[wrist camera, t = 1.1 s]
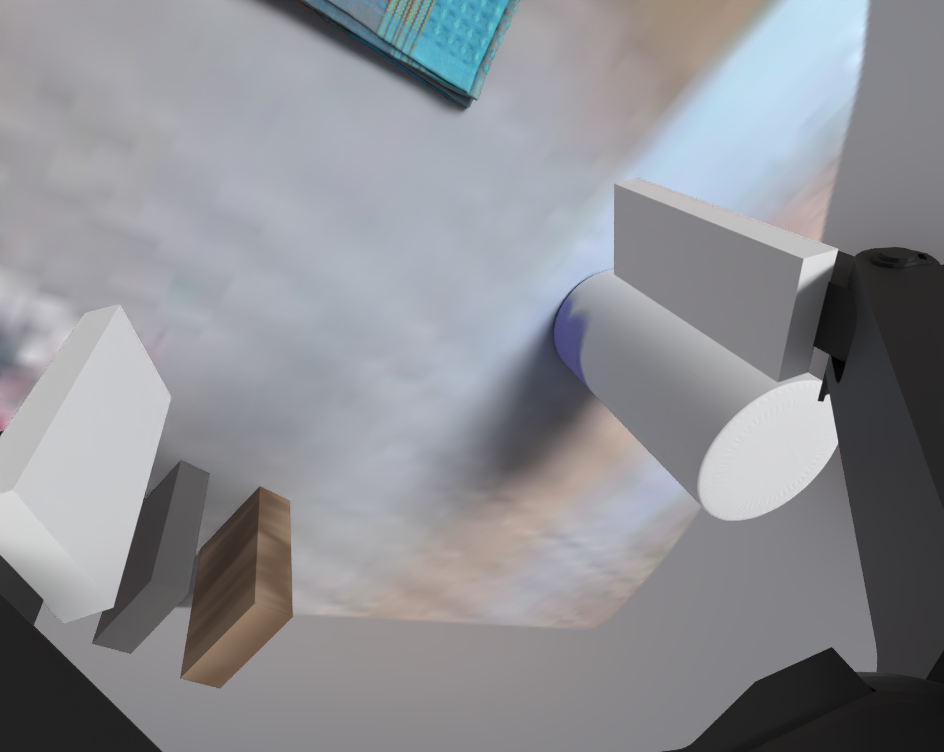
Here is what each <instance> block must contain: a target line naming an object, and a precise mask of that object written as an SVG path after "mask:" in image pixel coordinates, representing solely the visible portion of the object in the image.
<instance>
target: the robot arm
mask: <svg viewBox="0 0 944 752" xmlns="http://www.w3.org/2000/svg"><path fill="white" fill-rule="evenodd" d="M614 275H616V276H617V277H619V278H620V279H622V280H623V281H625V282H626V283H628V284H629V285H631V286H632V287H634V288H635V289H637V290H638V291H640V292H641V293H643V294H644V295H646V296H647V297H649V298H650V299H652V300H653V301H655V302H656V303H658V304H659V305H661V306H663V307H664V308H666V309H667V310H669V311H670V312H672V313H673V314H675V315H676V316H678V317H679V318H681V319H682V320H684V321H685V322H687V323H688V324H690V325H691V326H693V327H694V328H696V329H697V330H699V331H700V332H702V333H703V334H705V335H706V336H708V337H709V338H711V339H712V340H714V341H715V342H717V343H719V344H720V345H722V346H723V347H725V348H726V349H728V350H729V351H731V352H732V353H734V354H735V355H737V356H738V357H740V358H741V359H743V360H744V361H746V362H747V363H749V364H750V365H752V366H753V367H755V368H756V369H758V370H759V371H761V372H762V373H764V374H765V375H767V376H768V377H770V378H771V379H773V380H775V381H776V382H781V381H784V380H787V379H790V378H793V377H796V376H799V375H802V374H805V373H808V371H809V366H810V362H811V358H812V354H813V350H814V346H815V347H817V348H819V349H821V350H822V351H824V352H826V353H828V354H829V359H828V362H827V366H826V370H825V374H824V378H823V381H822V385H821V389H820V393H819V397H818V401H820V402H824V399H825V396H826V395H828V394H829V395H830V400H831V406H832V411H833V416H834V422H835V427H836V432H837V438H838V443H839V448H840V454H841V459H842V464H843V470H844V475H845V480H846V486H847V491H848V496H849V502H850V507H851V513H852V518H853V523H854V528H855V534H856V540H857V545H858V550H859V555H860V560H861V566H862V571H863V576H864V582H865V587H866V593H867V598H868V604H869V609H870V615H871V620H872V625H873V630H874V636H875V641H876V648H877V672H854V670H853V669H852V668H851V667H850V666H849V665H848V664H847V663H846V662H845V661H844V660H843V659H842V657H840V655H839V654H838V653H837V652H836V651H835V650H834V649H833V648H832V647H831V648H829V649H827V650H824V651H823V652H820V653H818V654H816V655H813V656H811V657H809V658H807V659H805V660H803V661H800V662H798V663H796V664H794V665H791V666H789V667H787V668H785V669H782V670H780V671H778V672H776V673H774V674H771V675H769V676H767V677H765V678H763V679H760V680H758V681H756V682H755V683H754V684H753V685H752V686H751V687H749V688H748V690H746V692H744V693H743V694H742V695H741V696H740V697H739V698H738V699H737V700H736V701H735V702H734V703H733V704H732V705H731V706H730V707H729V708H728V709H727V710H726V711H725V712H724V713H723V714H722V715H721V716H720V717H719V718H718V719H717V720H716V721H715V722H714V723H713V724H712V725H711V726H710V727H709V728H708V729H707V730H706V731H705V732H704V733H703V734H702V735H701V736H700V737H699V738H697V739H696V740H695V741H694V742H693V743H692V744H691V745H689V746H687V747H685V748H682V749H678V750H672V751H663V752H944V265H940V263H939V262H938V261H937V260H936V259H935V258H933V257H932V256H930V255H928V254H927V253H922V252H919V251H913V250H910V249H906V248H899V247H892V248H891V247H890V248H874V249H870V250H865V251H862V252H860V253H858V254H857V255H856V256H855V257H854V256H852V255H849V254H846V253H843V252H840V251H838V249H837V248H834V247H831V246H828V245H825V244H823V243H820V242H817V241H815V240H812V239H809V238H806V237H803V236H801V235H798V234H795V233H792V232H789V231H787V230H784V229H781V228H778V227H775V226H772V225H770V224H767V223H764V222H761V221H758V220H756V219H753V218H750V217H747V216H744V215H742V214H739V213H736V212H733V211H730V210H727V209H725V208H722V207H719V206H716V205H713V204H711V203H708V202H705V201H702V200H699V199H697V198H694V197H691V196H688V195H685V194H683V193H680V192H677V191H674V190H671V189H668V188H666V187H663V186H660V185H657V184H654V183H652V182H649V181H646V180H643V179H640V178H636V179H632V180H628V181H624V182H620V183H616V184H614ZM170 401H171V396H170V394H169V392H168V390H167V388H166V386H165V385H164V383H163V381H162V379H161V377H160V376H159V374H158V372H157V370H156V368H155V367H154V365H153V363H152V361H151V359H150V358H149V356H148V354H147V352H146V350H145V349H144V347H143V345H142V343H141V341H140V340H139V338H138V336H137V334H136V332H135V331H134V329H133V327H132V325H131V323H130V322H129V320H128V318H127V316H126V314H125V313H124V311H123V309H122V307H121V305H120V304H119V305H114V306H110V307H106V308H102V309H98V310H94V311H90V312H86V313H85V314H84V315H83V317H82V318H81V320H80V321H79V322H78V324H77V325H76V327H75V328H74V330H73V331H72V333H71V334H70V336H69V337H68V338H67V340H66V341H65V343H64V344H63V346H62V347H61V349H60V350H59V352H58V353H57V354H56V356H55V357H54V359H53V360H52V362H51V363H50V365H49V366H48V368H47V369H46V370H45V372H44V373H43V375H42V376H41V378H40V379H39V381H38V382H37V384H36V385H35V386H34V388H33V389H32V391H31V392H30V394H29V395H28V397H27V398H26V400H25V401H24V402H23V404H22V405H21V407H20V408H19V410H18V411H17V413H16V414H15V416H14V417H13V418H12V420H11V421H10V423H9V424H8V426H7V427H6V429H5V430H4V431H1V432H0V752H162V751H161V750H160V749H159V748H158V747H157V746H156V745H155V744H154V743H153V742H152V741H151V740H150V739H149V738H148V737H147V736H146V735H145V734H144V733H143V732H142V731H141V730H140V729H139V728H138V727H137V726H136V725H135V724H133V722H131V720H130V719H129V718H127V717H126V715H124V714H123V713H122V712H121V711H120V710H119V709H118V708H117V707H116V706H115V705H114V704H113V703H112V702H111V701H110V700H109V699H108V698H107V697H106V696H105V695H104V694H103V693H102V692H101V691H100V690H99V689H98V688H97V687H96V686H95V685H94V684H93V683H92V682H91V681H90V680H89V679H88V678H87V677H86V676H85V675H84V674H82V672H80V670H78V669H77V668H76V667H75V666H74V665H73V664H72V663H71V662H70V661H69V660H68V659H67V658H66V657H65V656H64V655H63V654H62V653H61V652H60V651H59V650H58V649H57V648H56V647H55V646H54V645H53V644H52V643H51V642H50V641H49V640H48V639H47V638H46V637H45V636H44V635H43V634H41V632H40V631H39V630H38V629H37V628H35V626H34V623H35V620H36V618H37V616H38V613H39V611H40V608H41V605H42V603H43V604H44V605H45V606H46V607H47V608H48V609H49V610H50V611H51V612H52V613H53V614H54V615H55V616H56V617H57V618H58V619H59V620H60V621H61V622H62V623H63V624H66V623H69V622H72V621H75V620H78V619H81V618H84V617H87V616H90V615H93V614H96V613H99V612H102V611H105V610H107V609H110V608H113V607H114V603H115V600H116V596H117V593H118V589H119V585H120V582H121V578H122V574H123V571H124V567H125V564H126V560H127V556H128V553H129V549H130V545H131V542H132V538H133V535H134V531H135V527H136V524H137V520H138V517H139V513H140V509H141V506H142V502H143V498H144V495H145V491H146V488H147V484H148V480H149V477H150V473H151V469H152V466H153V462H154V459H155V455H156V451H157V448H158V444H159V441H160V437H161V433H162V430H163V426H164V422H165V419H166V415H167V412H168V408H169V404H170Z"/></svg>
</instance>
